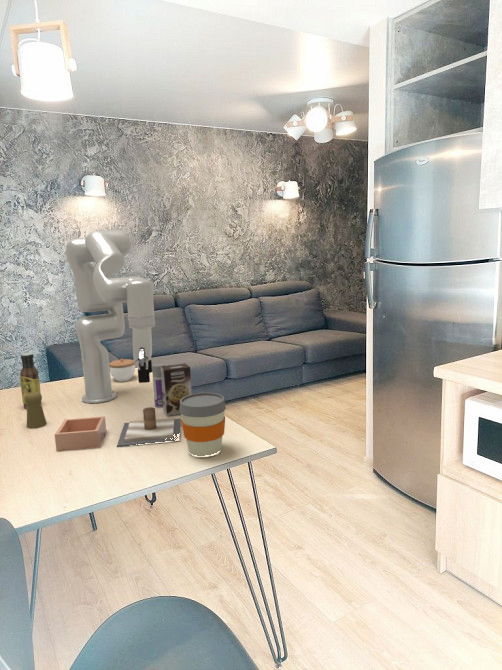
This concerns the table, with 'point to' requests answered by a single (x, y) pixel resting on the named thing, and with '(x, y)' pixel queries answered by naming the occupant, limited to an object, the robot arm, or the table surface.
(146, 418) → the lid
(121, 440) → the mat
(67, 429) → the dish
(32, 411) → the cork
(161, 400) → the container
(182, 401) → the reusable coffee cup
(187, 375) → the coffee box
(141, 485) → the table surface
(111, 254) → the robot arm
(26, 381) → the sauce bottle
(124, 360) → the lidded jar
